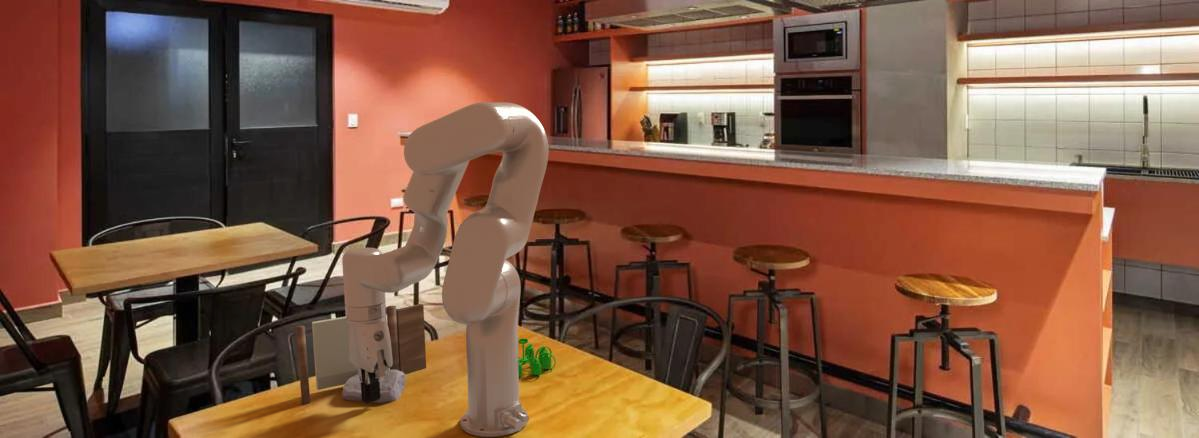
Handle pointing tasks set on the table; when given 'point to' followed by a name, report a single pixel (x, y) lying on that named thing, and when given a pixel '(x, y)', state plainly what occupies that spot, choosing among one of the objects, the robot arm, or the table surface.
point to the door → (332, 353)
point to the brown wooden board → (404, 344)
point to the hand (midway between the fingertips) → (371, 400)
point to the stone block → (388, 387)
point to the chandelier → (535, 358)
